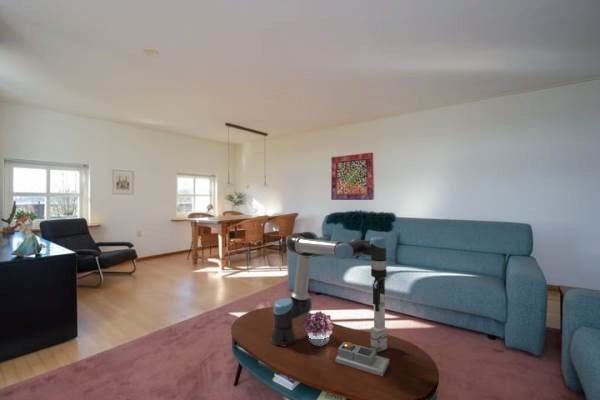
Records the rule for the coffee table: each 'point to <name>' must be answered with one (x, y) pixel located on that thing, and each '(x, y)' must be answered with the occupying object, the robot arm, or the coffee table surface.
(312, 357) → the coffee table surface
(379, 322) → the cartridge
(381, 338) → the ink box
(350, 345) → the orange piece
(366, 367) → the housing
